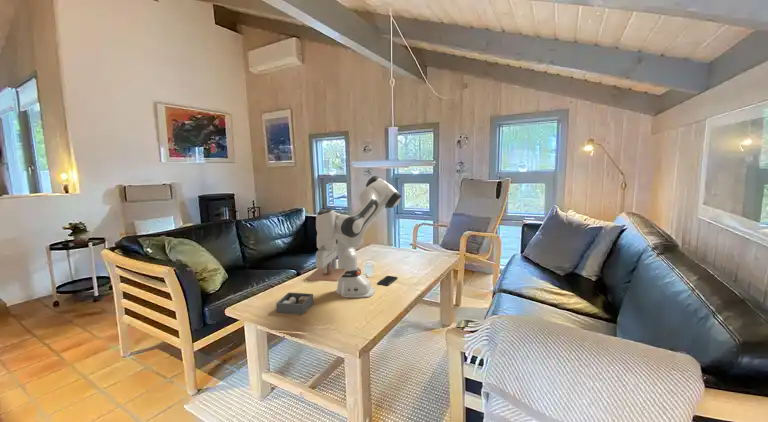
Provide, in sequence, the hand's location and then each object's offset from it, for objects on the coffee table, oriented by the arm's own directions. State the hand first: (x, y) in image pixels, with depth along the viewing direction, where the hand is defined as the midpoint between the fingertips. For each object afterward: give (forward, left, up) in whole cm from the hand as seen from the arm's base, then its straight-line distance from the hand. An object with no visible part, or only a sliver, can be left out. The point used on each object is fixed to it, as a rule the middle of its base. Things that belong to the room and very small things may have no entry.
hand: (327, 271), depth 161 cm
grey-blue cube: (+23, -2, -22) cm, 32 cm away
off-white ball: (+23, -9, -22) cm, 33 cm away
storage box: (+20, -6, -23) cm, 31 cm away
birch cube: (+17, -9, -22) cm, 29 cm away
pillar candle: (+19, -57, -23) cm, 64 cm away
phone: (-21, -52, -24) cm, 61 cm away
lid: (0, 0, -2) cm, 2 cm away
